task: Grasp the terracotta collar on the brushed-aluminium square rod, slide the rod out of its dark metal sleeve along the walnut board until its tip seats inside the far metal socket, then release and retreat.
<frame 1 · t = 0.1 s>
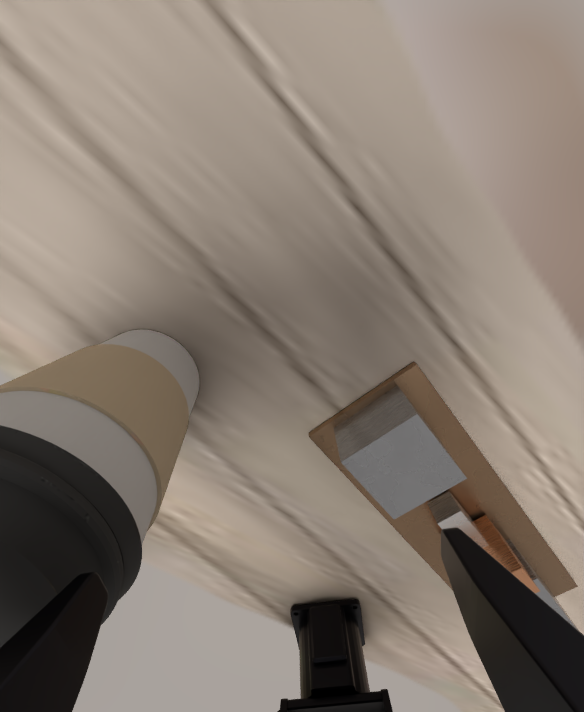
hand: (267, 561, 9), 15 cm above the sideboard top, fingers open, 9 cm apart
coffee cup: (151, 376, 23), on the sideboard top
tube base: (455, 515, 27), on the sideboard top
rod: (499, 577, 26), point 3 cm above the sideboard top, slide at 0.0 cm
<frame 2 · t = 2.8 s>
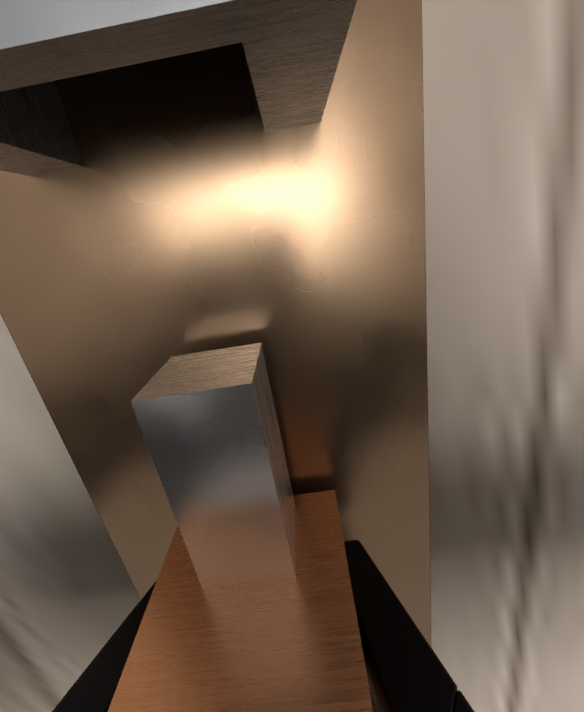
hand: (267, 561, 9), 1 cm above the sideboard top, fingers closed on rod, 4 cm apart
tube base: (257, 463, 9), on the sideboard top
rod: (280, 689, 8), point 3 cm above the sideboard top, slide at 0.0 cm, touching gripper
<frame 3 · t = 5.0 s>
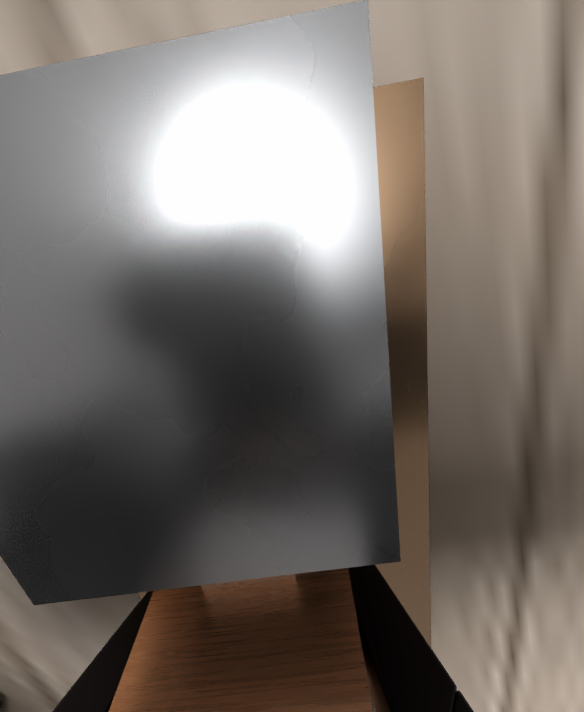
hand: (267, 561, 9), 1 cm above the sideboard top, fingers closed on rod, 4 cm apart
tube base: (292, 607, 11), on the sideboard top
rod: (280, 690, 8), point 3 cm above the sideboard top, slide at 6.1 cm, touching gripper
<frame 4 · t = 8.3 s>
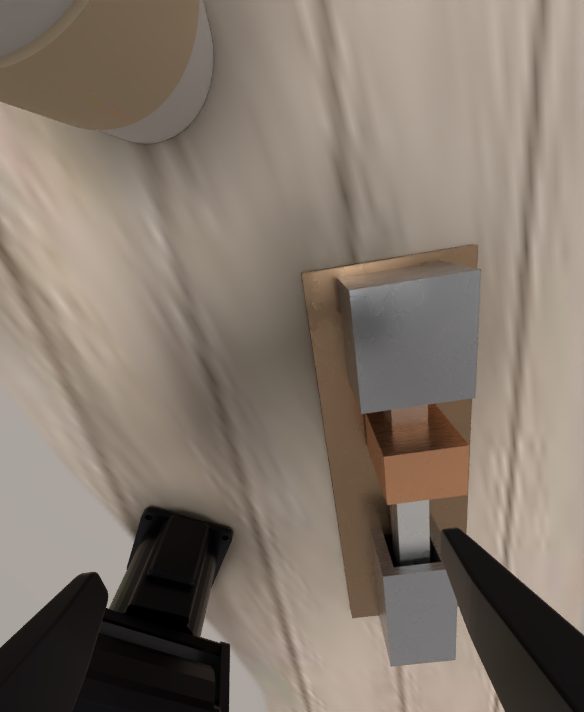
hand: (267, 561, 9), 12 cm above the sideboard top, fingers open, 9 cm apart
coffee cup: (136, 53, 14), on the sideboard top
tube base: (397, 470, 22), on the sideboard top
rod: (412, 479, 19), point 3 cm above the sideboard top, slide at 6.1 cm
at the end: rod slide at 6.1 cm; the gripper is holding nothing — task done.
